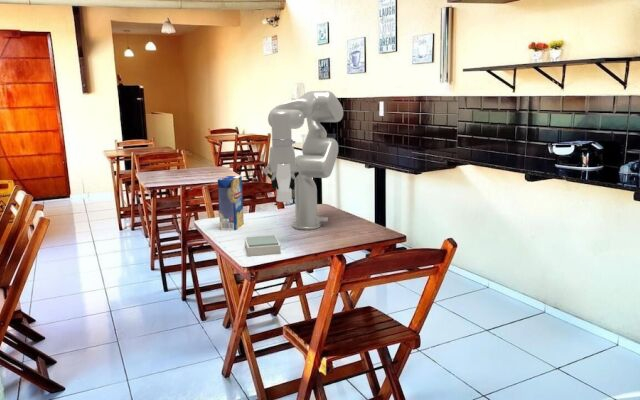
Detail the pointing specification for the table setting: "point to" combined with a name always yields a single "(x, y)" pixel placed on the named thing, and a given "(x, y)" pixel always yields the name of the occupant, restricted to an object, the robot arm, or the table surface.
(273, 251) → the base
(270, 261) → the table surface
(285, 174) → the beer glass
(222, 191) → the beverage box
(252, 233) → the table surface
